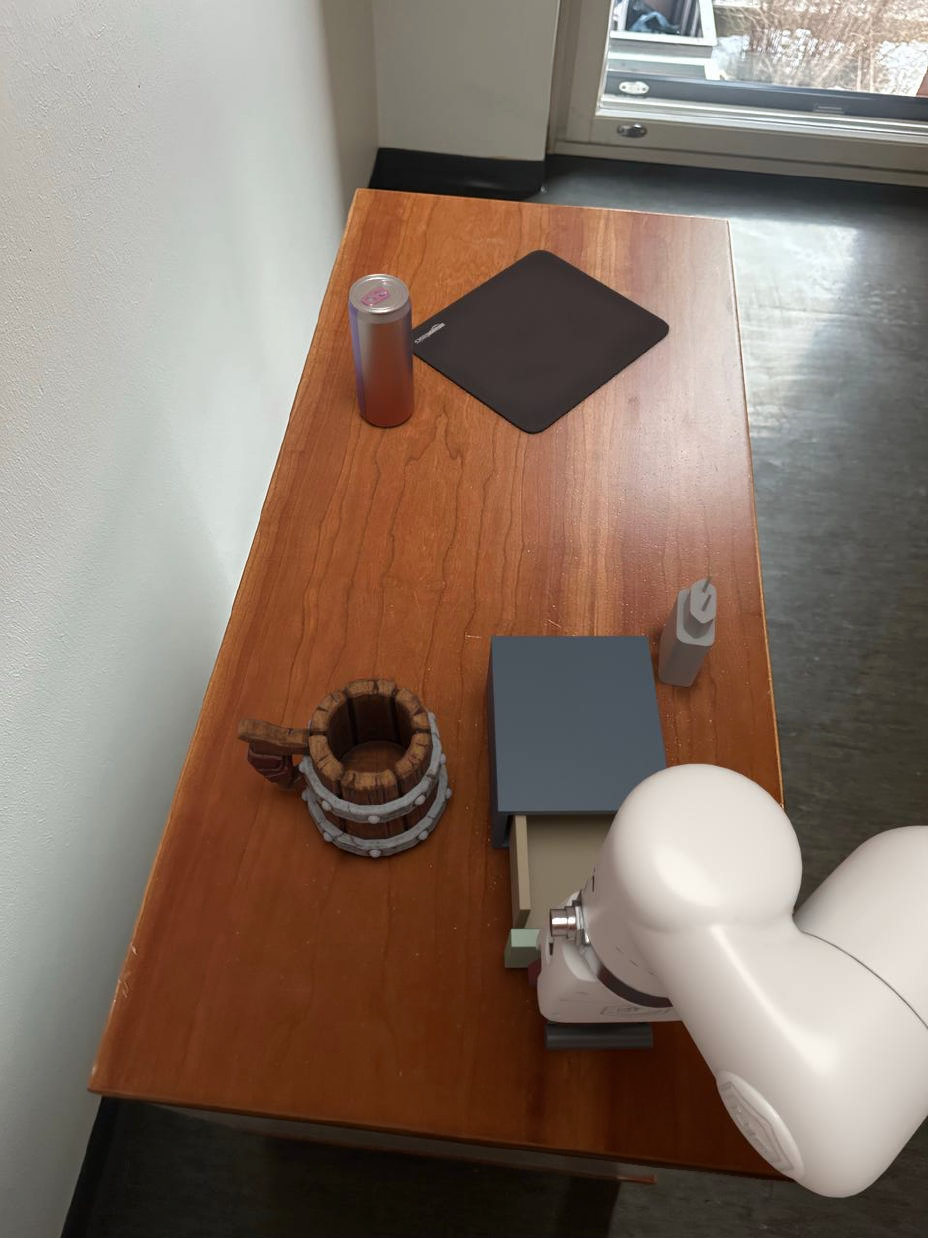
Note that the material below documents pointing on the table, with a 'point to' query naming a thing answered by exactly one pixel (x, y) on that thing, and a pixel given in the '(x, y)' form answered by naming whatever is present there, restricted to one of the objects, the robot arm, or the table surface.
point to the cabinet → (569, 725)
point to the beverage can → (382, 348)
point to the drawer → (542, 879)
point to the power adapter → (688, 634)
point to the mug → (360, 766)
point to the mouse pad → (536, 339)
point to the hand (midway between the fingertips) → (601, 995)
